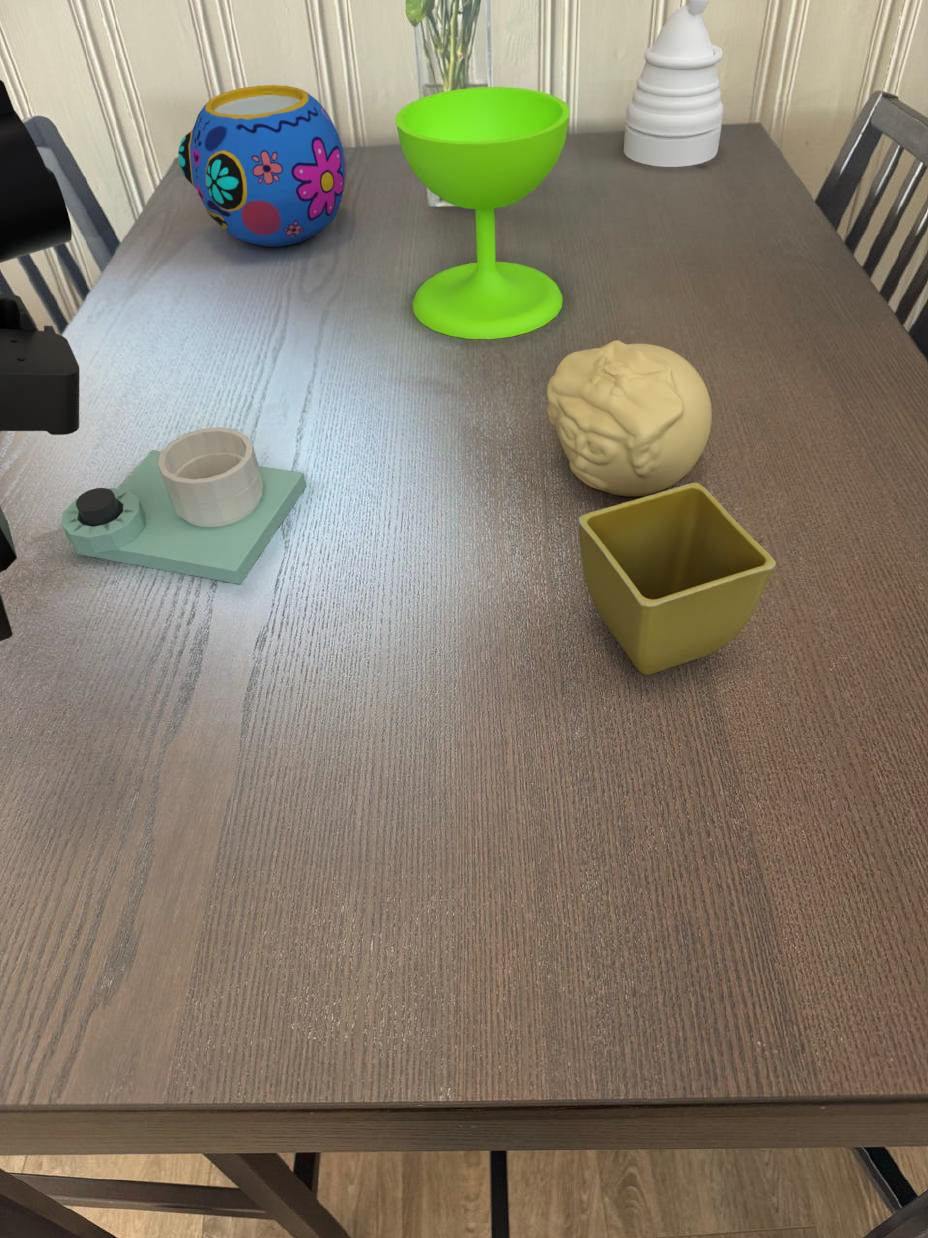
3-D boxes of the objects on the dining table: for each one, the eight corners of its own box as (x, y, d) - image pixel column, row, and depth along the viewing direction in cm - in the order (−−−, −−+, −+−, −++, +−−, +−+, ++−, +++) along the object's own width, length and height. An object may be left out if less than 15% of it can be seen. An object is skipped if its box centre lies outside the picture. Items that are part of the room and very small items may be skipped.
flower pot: (568, 614, 60) (575, 514, 54) (680, 580, 62) (699, 478, 56) (629, 708, 54) (644, 607, 48) (750, 666, 56) (780, 564, 50)
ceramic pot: (188, 233, 108) (151, 98, 97) (315, 197, 115) (294, 66, 104) (244, 283, 98) (210, 138, 87) (381, 241, 104) (365, 100, 93)
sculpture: (524, 470, 72) (525, 351, 64) (624, 413, 77) (636, 296, 69) (627, 537, 65) (642, 414, 58) (729, 470, 70) (755, 349, 63)
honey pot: (737, 152, 119) (764, -7, 106) (663, 174, 115) (681, 11, 102) (676, 128, 127) (694, -24, 114) (604, 147, 123) (614, -8, 110)
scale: (61, 559, 67) (45, 529, 64) (148, 461, 75) (137, 432, 73) (235, 592, 63) (225, 562, 61) (306, 486, 72) (299, 456, 69)
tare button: (75, 524, 65) (68, 507, 64) (96, 501, 67) (89, 485, 66) (107, 529, 65) (100, 513, 64) (128, 506, 67) (121, 490, 65)
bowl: (158, 522, 67) (140, 475, 64) (201, 468, 72) (186, 422, 68) (240, 536, 65) (225, 488, 62) (279, 480, 70) (267, 433, 67)
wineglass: (393, 332, 89) (372, 140, 76) (434, 263, 99) (421, 84, 86) (548, 345, 86) (554, 147, 73) (573, 272, 96) (582, 88, 83)
